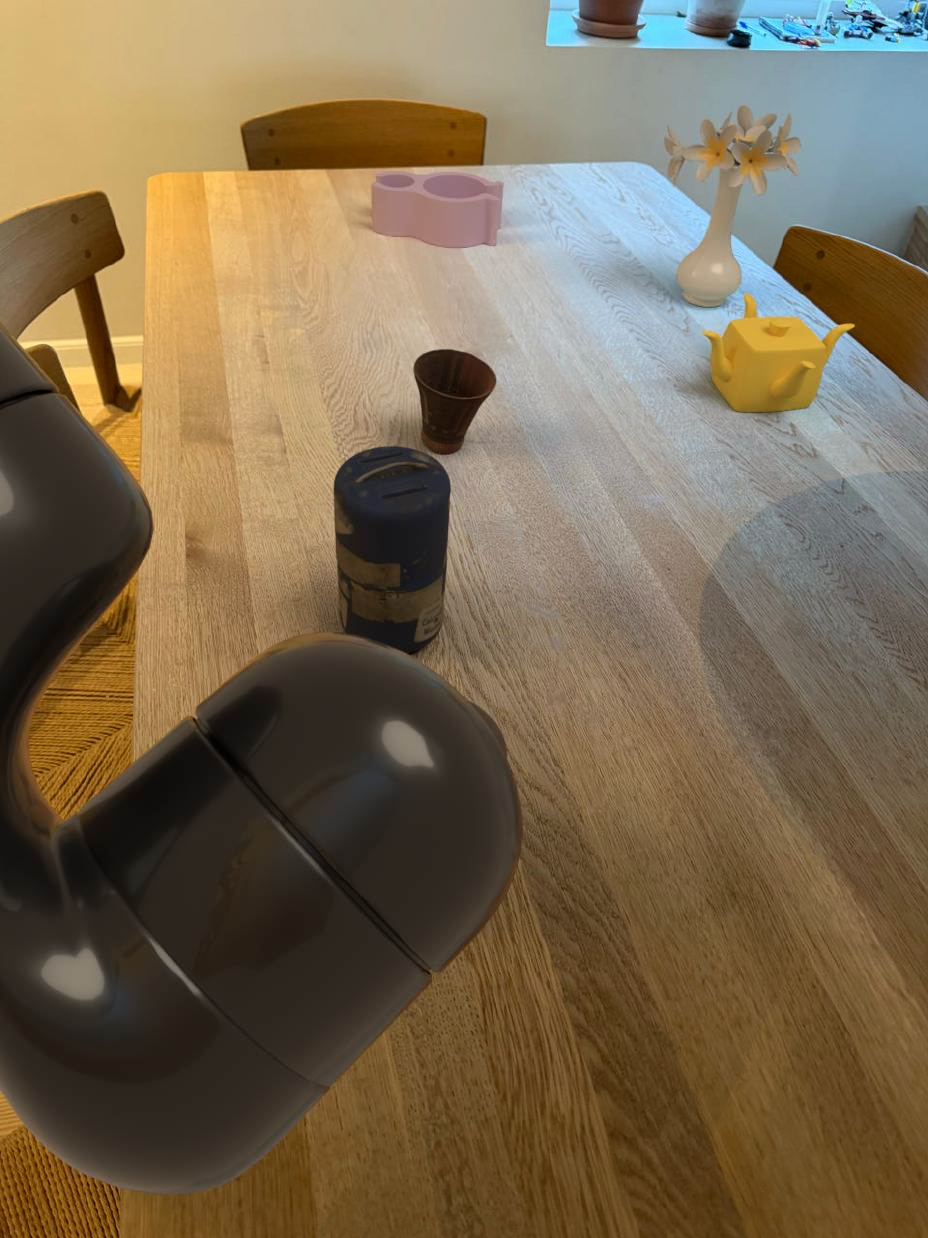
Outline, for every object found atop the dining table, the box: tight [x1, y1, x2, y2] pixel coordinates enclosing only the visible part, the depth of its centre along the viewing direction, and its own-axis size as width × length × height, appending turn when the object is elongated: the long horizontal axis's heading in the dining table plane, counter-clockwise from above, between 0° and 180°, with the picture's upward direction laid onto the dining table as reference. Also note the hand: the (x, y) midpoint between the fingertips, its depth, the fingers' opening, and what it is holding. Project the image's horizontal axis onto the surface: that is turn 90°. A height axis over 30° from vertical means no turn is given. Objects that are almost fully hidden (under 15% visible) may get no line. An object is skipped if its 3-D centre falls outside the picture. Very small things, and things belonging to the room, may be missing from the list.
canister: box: [333, 445, 452, 654], centre depth 81 cm, size 10×10×18 cm
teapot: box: [700, 293, 856, 413], centre depth 118 cm, size 15×14×10 cm
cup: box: [412, 348, 497, 455], centre depth 105 cm, size 9×9×10 cm
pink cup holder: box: [370, 170, 505, 249], centre depth 150 cm, size 20×12×7 cm, turn 83°
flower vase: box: [663, 104, 802, 308], centre depth 130 cm, size 13×18×25 cm
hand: (261, 794), depth 51 cm, fingers closed
